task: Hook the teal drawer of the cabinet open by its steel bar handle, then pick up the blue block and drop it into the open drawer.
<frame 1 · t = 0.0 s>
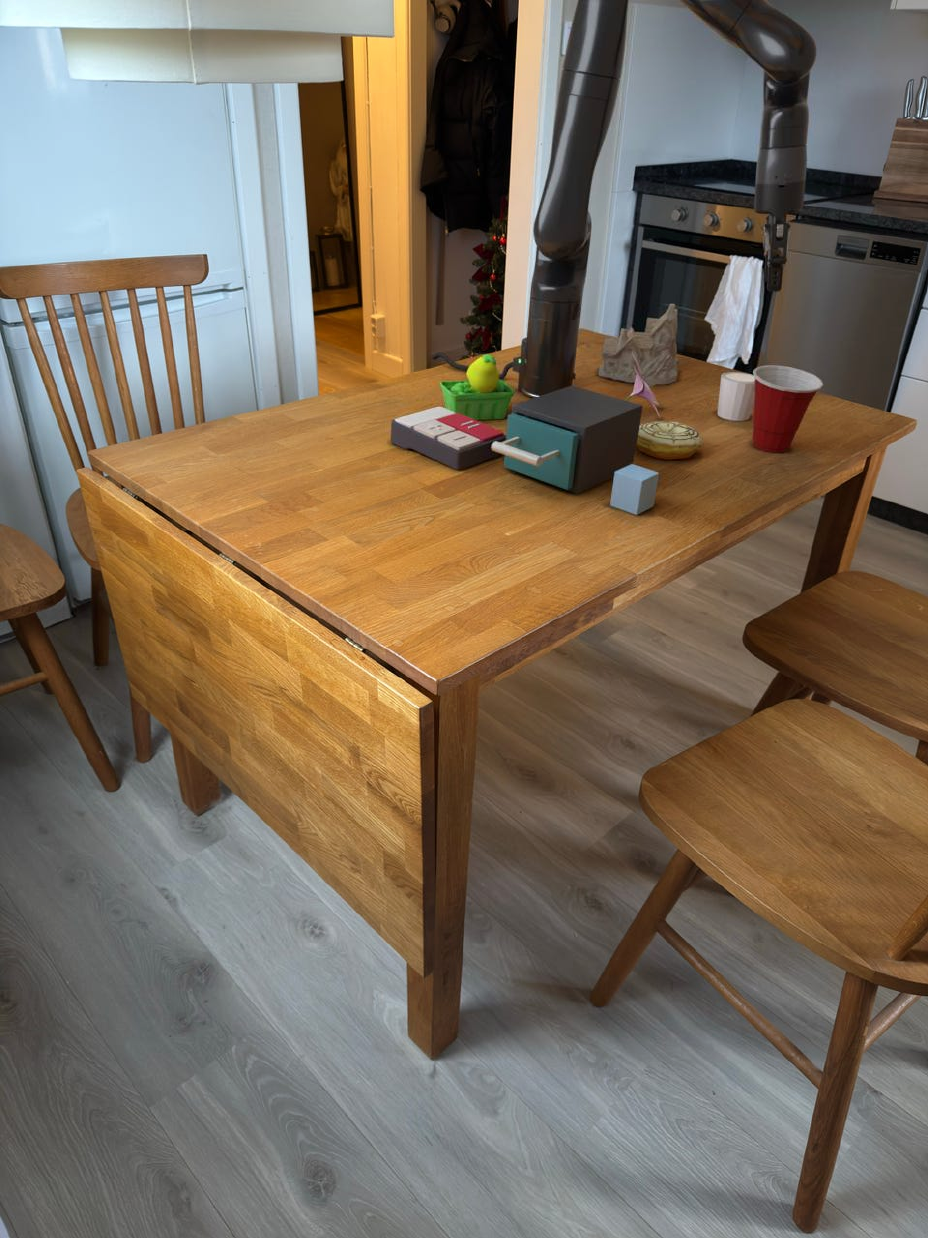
hand: (772, 286, 149), 22 cm above the table, tool pointing down, fingers open, 8 cm apart
cabinet: (570, 468, 135), on the table
white faceted cylinder: (732, 416, 161), on the table
drawer: (554, 445, 130), point 5 cm above the table, slide at 0.5 cm
decorated donut: (666, 451, 144), on the table
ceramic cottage: (639, 373, 182), on the table
fruit basket: (476, 417, 154), on the table
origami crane: (640, 414, 160), on the table
plastic cup: (770, 448, 148), on the table
blue block: (631, 505, 124), on the table
calculator: (447, 449, 140), on the table
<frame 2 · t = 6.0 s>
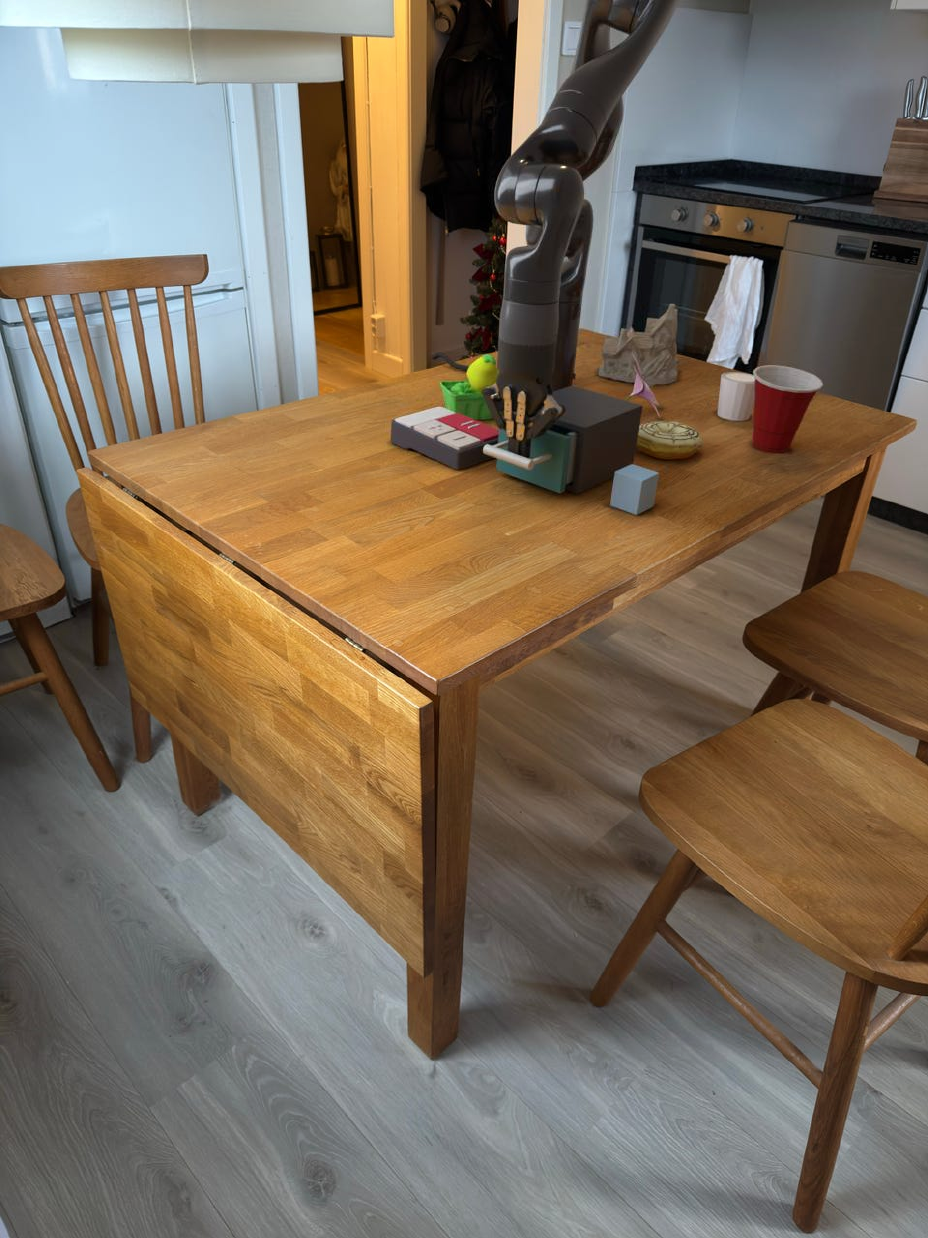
hand: (517, 462, 124), 5 cm above the table, tool pointing down, fingers closed
drawer: (546, 448, 128), point 5 cm above the table, slide at 2.3 cm, touching gripper
everything else where it was.
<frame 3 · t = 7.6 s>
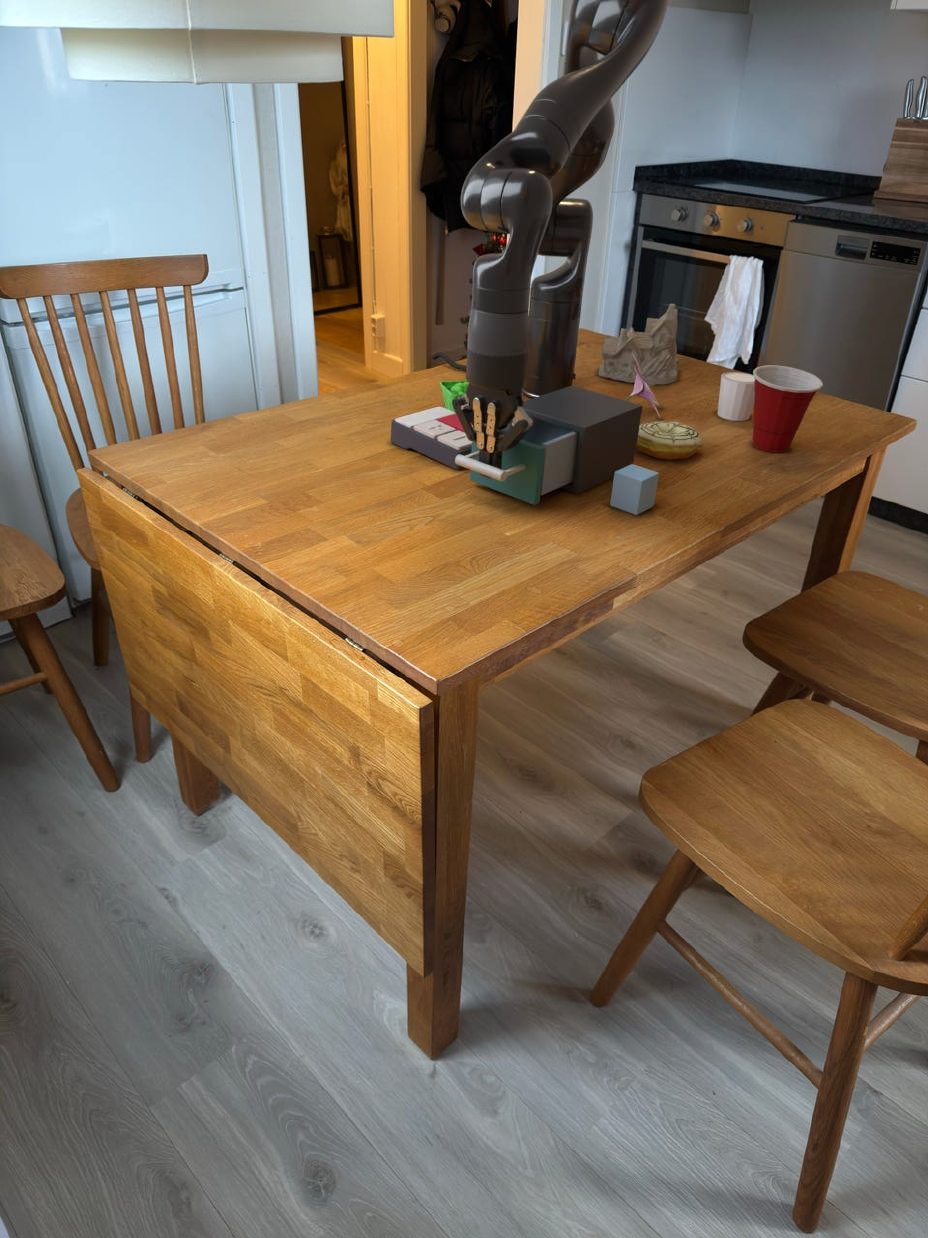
hand: (489, 475, 120), 4 cm above the table, tool pointing down, fingers closed
drawer: (521, 458, 125), point 5 cm above the table, slide at 8.1 cm, touching gripper
everything else where it was.
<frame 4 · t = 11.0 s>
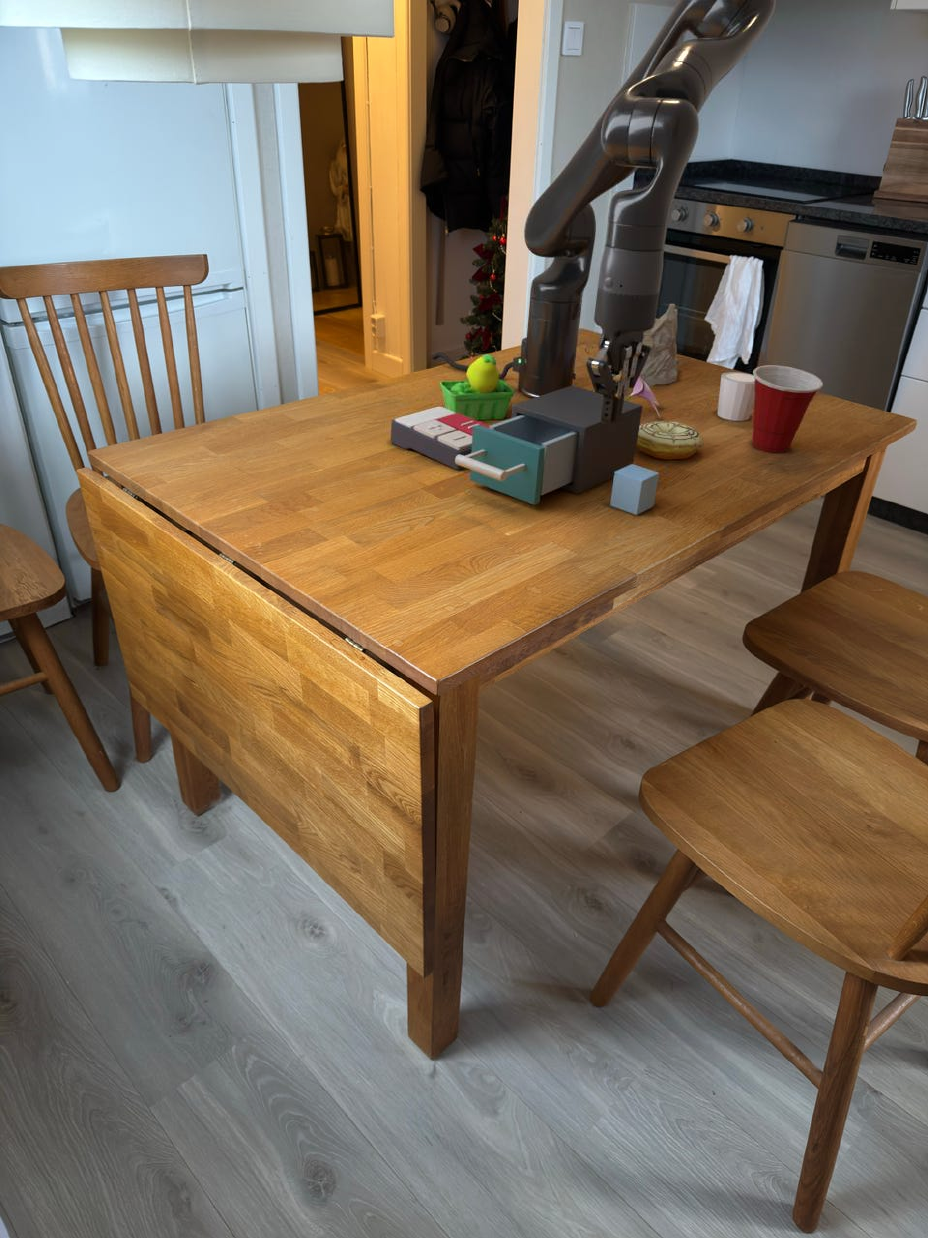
hand: (610, 423, 118), 12 cm above the table, tool pointing down, fingers closed
drawer: (521, 458, 125), point 5 cm above the table, slide at 8.1 cm
everything else where it was.
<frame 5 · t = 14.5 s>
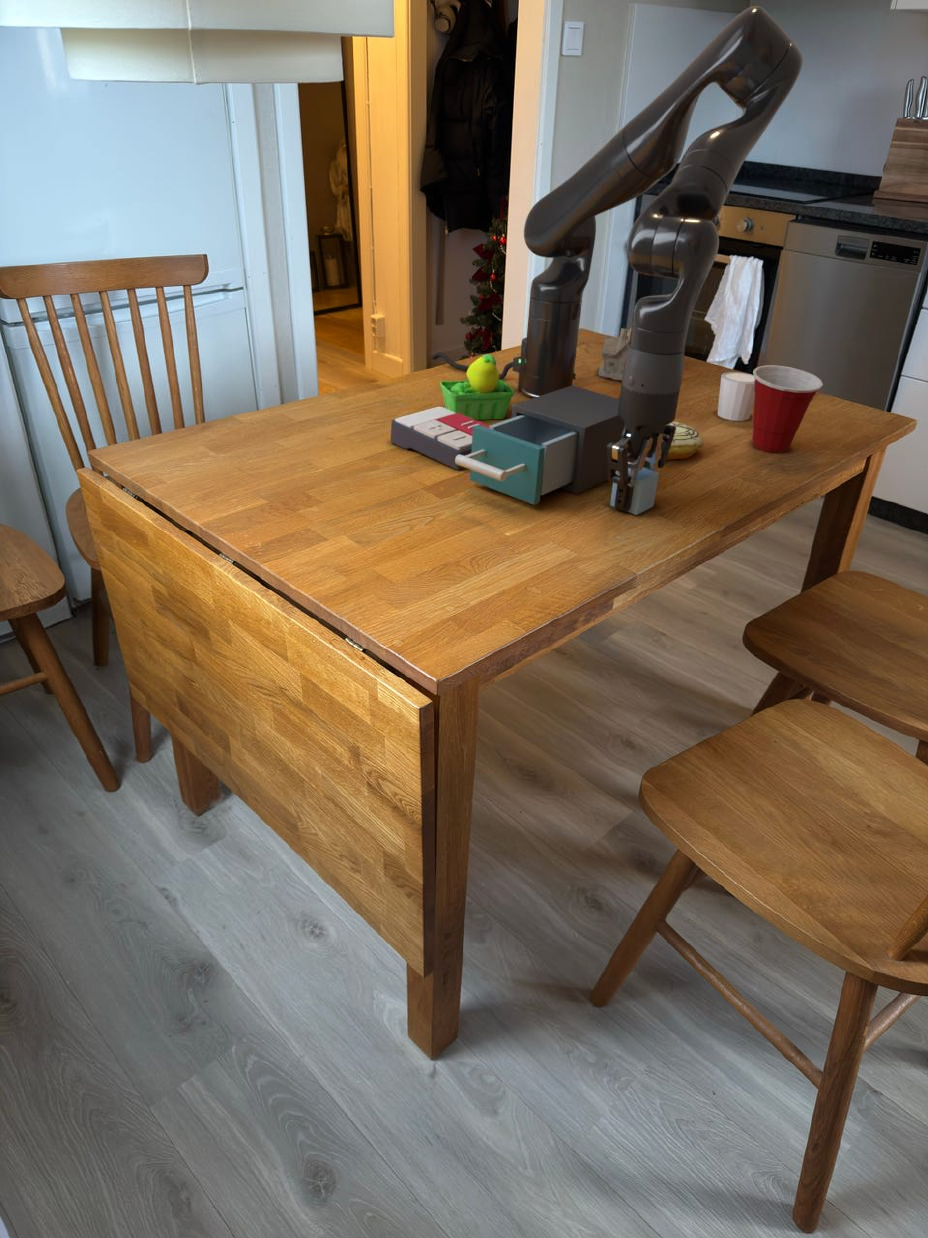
hand: (632, 503, 124), 0 cm above the table, tool pointing down, fingers closed on blue block, 4 cm apart
blue block: (631, 505, 124), on the table, touching gripper
everything else where it was.
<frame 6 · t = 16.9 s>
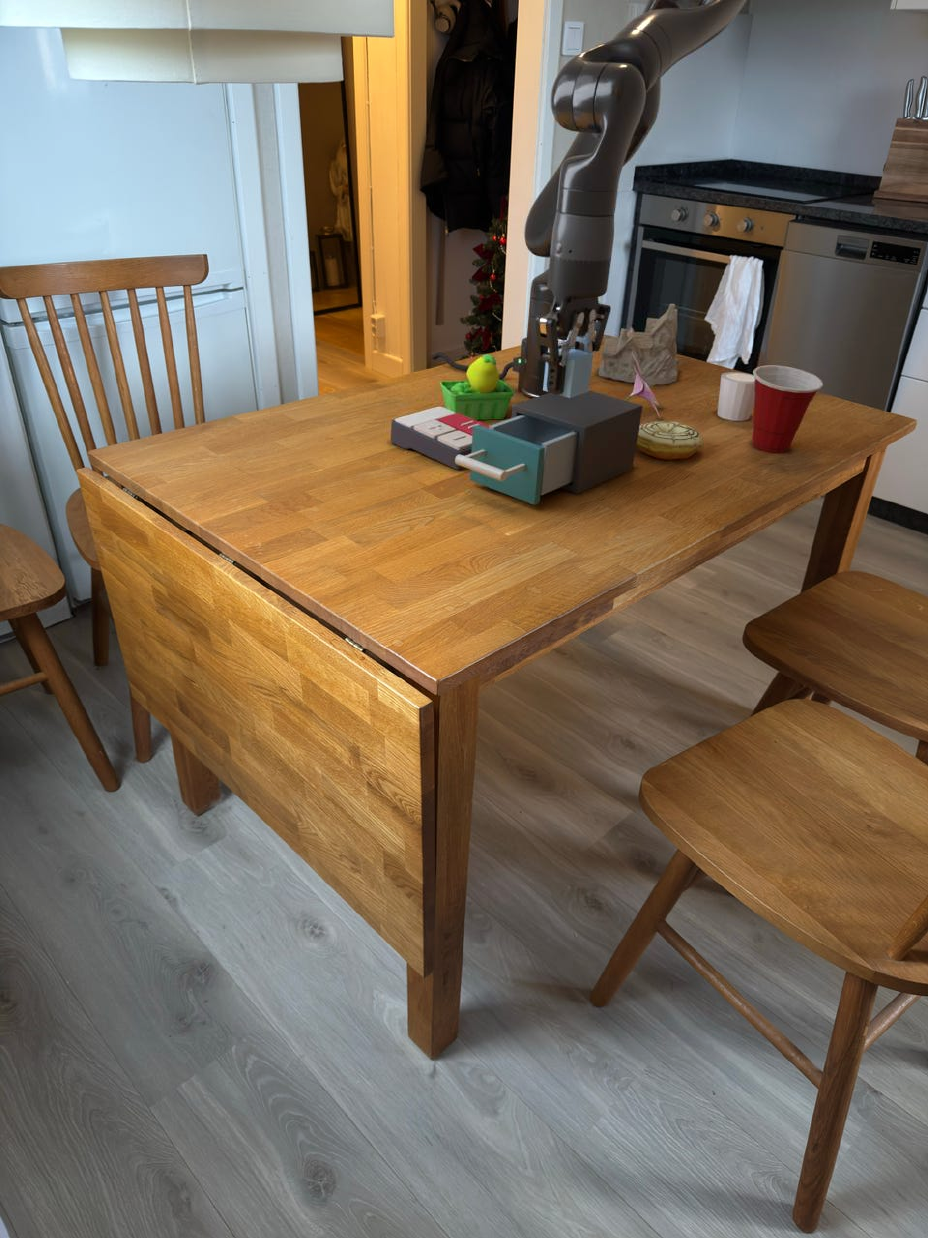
hand: (566, 388, 119), 15 cm above the table, tool pointing down, fingers closed on blue block, 4 cm apart
blue block: (565, 390, 119), point 15 cm above the table, touching gripper
everything else where it was.
when the fingers open (8 cm above the table, at t = 19.6 s): blue block drops 6 cm, resting on drawer.
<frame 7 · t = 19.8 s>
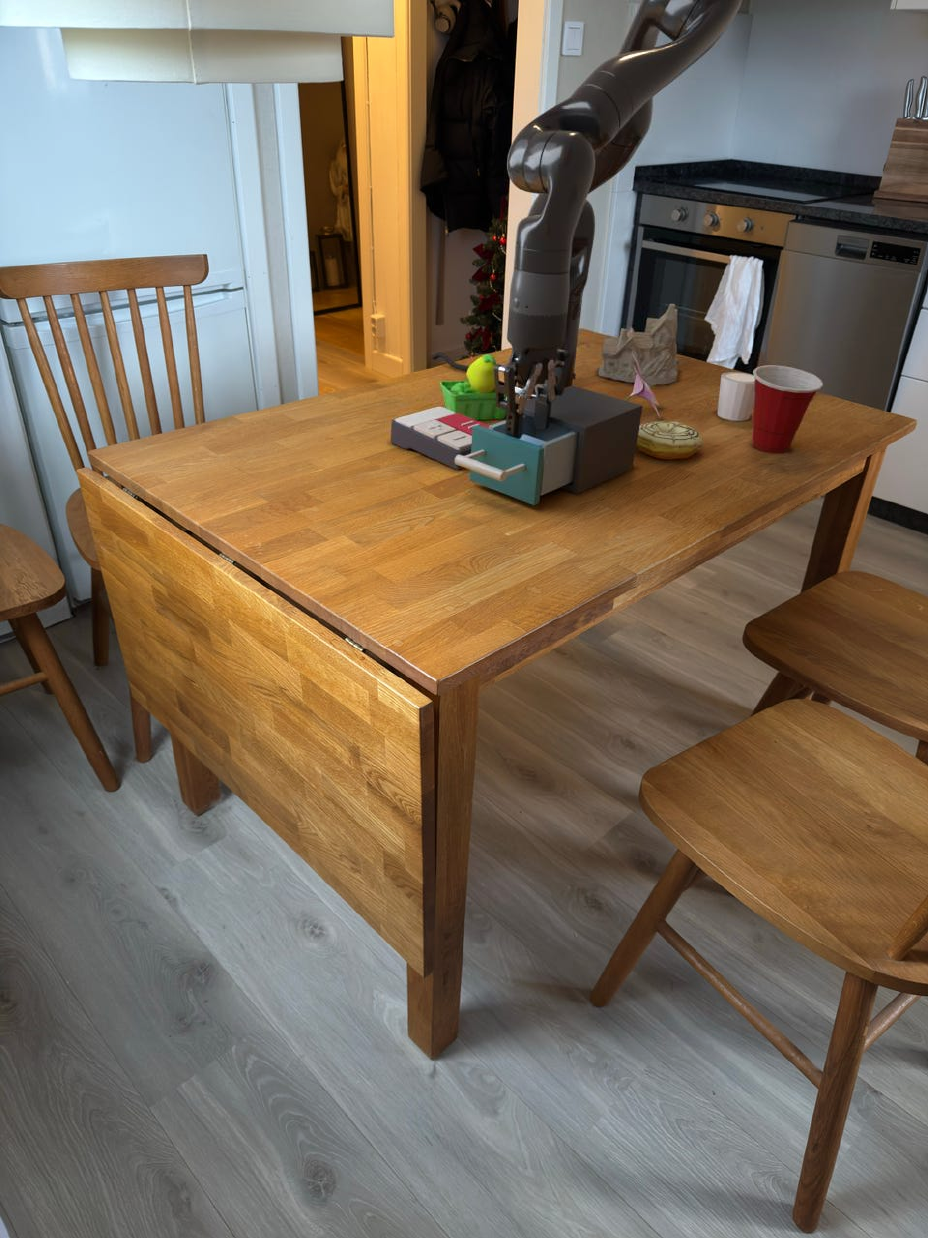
hand: (527, 432, 123), 8 cm above the table, tool pointing down, fingers open, 5 cm apart
drawer: (521, 458, 124), point 5 cm above the table, slide at 8.2 cm, touching blue block, gripper
blue block: (523, 475, 126), point 2 cm above the table, touching drawer
everything else where it was.
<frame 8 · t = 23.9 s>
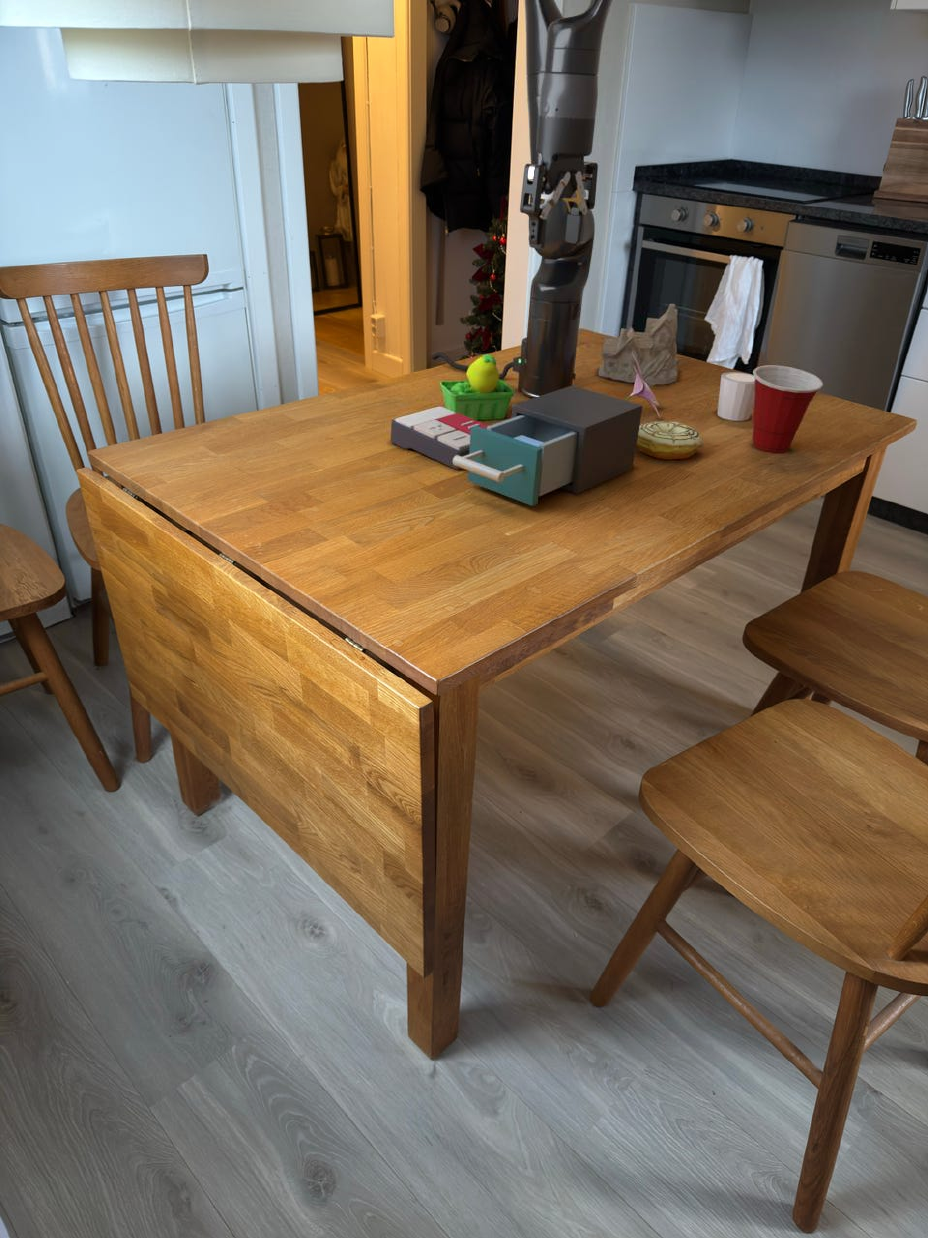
hand: (554, 245, 127), 30 cm above the table, tool pointing down, fingers open, 8 cm apart
drawer: (519, 459, 124), point 5 cm above the table, slide at 8.6 cm, touching blue block
everything else where it was.
at the end: drawer slide at 8.6 cm; blue block inside the target area in the drawer (3.2 cm from its centre), point 2.1 cm above the cabinet's base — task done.
